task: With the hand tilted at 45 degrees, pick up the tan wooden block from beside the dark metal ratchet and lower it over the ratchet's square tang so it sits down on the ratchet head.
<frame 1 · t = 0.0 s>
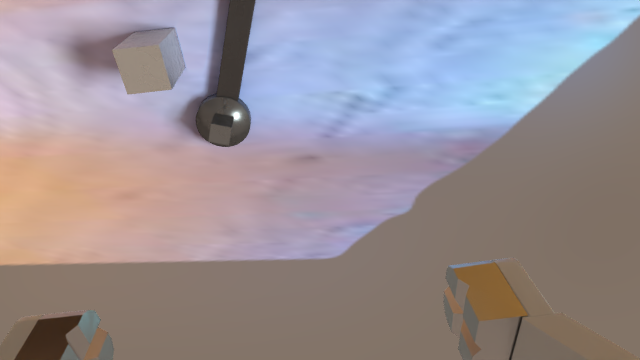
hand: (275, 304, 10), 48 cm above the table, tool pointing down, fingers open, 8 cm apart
tan wooden block: (160, 50, 53), on the table
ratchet: (224, 117, 58), on the table
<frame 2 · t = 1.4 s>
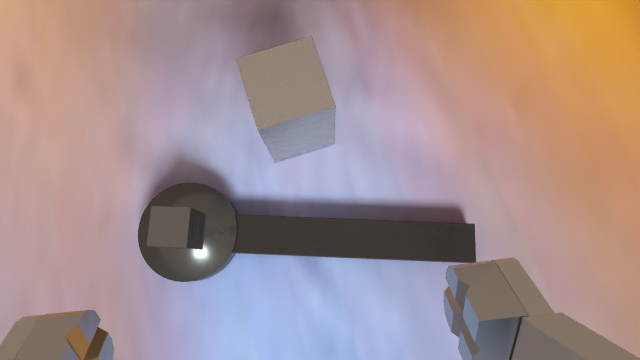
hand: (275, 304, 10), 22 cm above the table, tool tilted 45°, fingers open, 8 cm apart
tan wooden block: (295, 124, 34), on the table
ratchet: (194, 233, 32), on the table
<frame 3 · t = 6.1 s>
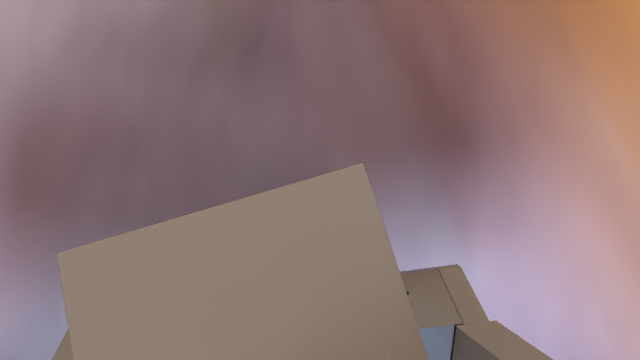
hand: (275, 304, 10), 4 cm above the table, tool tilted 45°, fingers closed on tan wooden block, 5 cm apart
tan wooden block: (292, 314, 14), on the table, touching gripper
when the fingers open (7 cm above the table, at t = 11.7 s): tan wooden block stays where it is, resting on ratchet.
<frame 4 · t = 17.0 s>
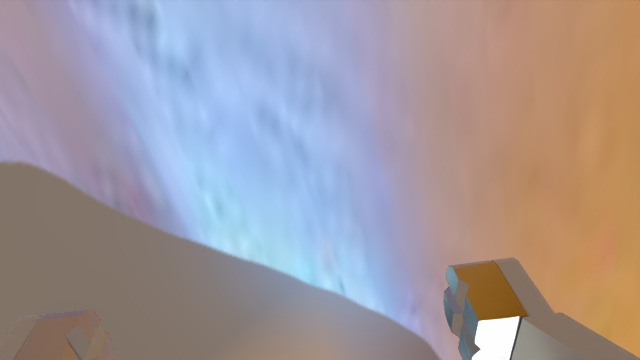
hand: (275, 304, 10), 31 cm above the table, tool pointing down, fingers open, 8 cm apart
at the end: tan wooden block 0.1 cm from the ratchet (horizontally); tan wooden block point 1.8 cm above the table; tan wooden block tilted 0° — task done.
